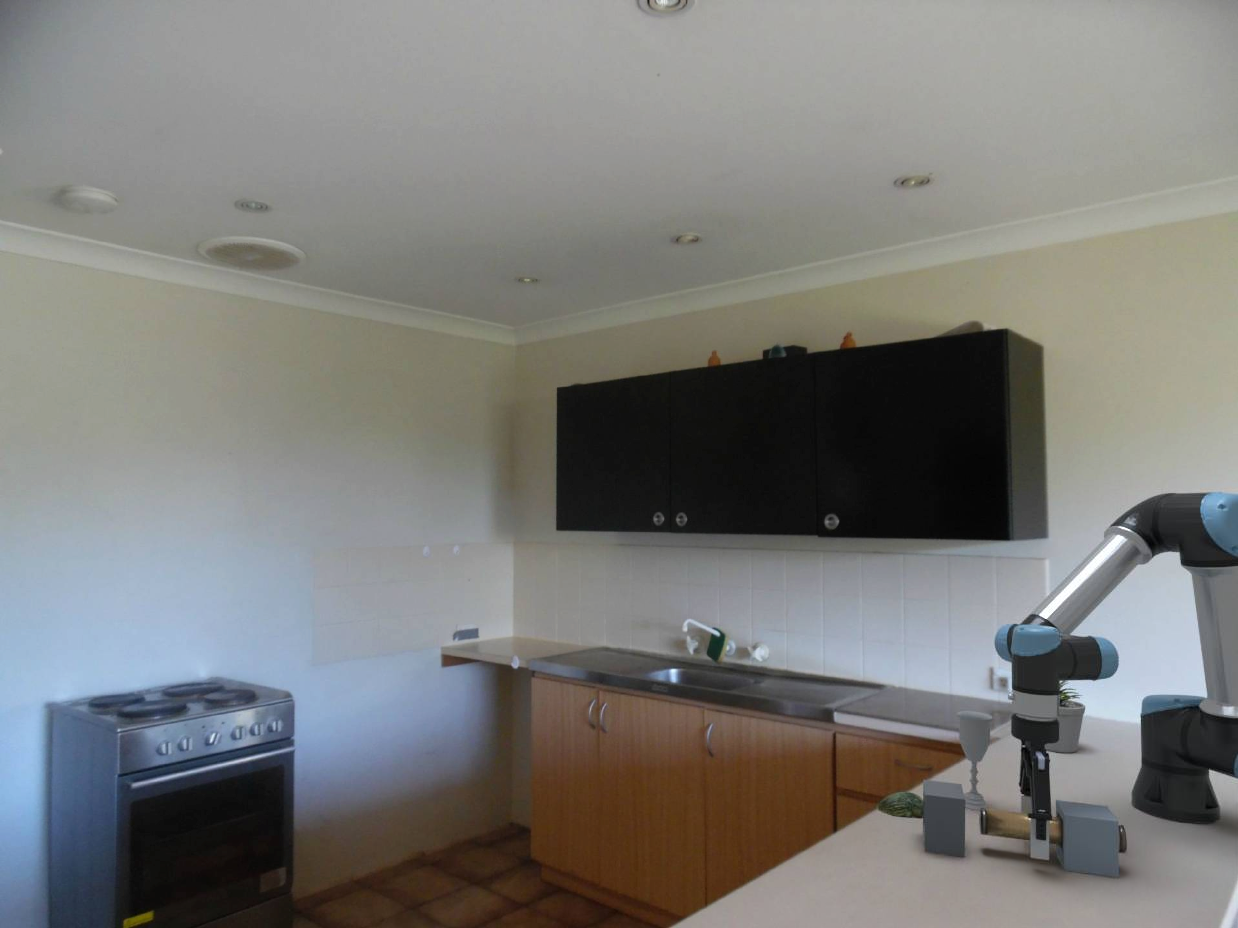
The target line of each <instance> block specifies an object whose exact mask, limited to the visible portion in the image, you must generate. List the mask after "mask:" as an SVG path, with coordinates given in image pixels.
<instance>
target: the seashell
mask: <svg viewBox="0 0 1238 928" xmlns="http://www.w3.org/2000/svg"><path fill="white" fill-rule="evenodd" d="M876 809H877V810H878V811H880V812H881V813H884V814H886V815H890V816H892V817H897V818H910V819H911V818H921V819H923V797H921V796H920V795H918V794H916V793H913V792H909V791H898V792H895V793H894V792H893V793H892V794H889V795H887V796H886V797H884V798H883V799H881V801H879V802H878V803H877V804H876Z"/></svg>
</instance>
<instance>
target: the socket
mask: <svg viewBox="0 0 1238 928" xmlns="http://www.w3.org/2000/svg"><path fill="white" fill-rule="evenodd" d="M922 785H923V786H922V787H923V789H922V791H923V793H922V799H923V818H922V839H923V849H924V853H931V854H932V853H933V854H939V855H945V856H952V857H953V856H954V857H961V858H966V807H965V796H964V795H965V793H964V789H963V786H962V783H956V782H946V781H936V780H928V779H923V784H922Z"/></svg>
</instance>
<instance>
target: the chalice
mask: <svg viewBox="0 0 1238 928" xmlns="http://www.w3.org/2000/svg"><path fill="white" fill-rule="evenodd" d="M956 714H957V715H956V716H957V718H958V722H959V723H958V728H959V730H958V739H959V742H960V746H961V749H962V750H963V752H964V755H965V758H966V759H967V760H968V761H970V762H971V769H970V770H969V772H970V774H971V778H970V779H969V780H968V781H969V782H970V784H971V788H970V790H969V791H967V792H965V793H964V796H965V809H966V808H967V809H971V810H976V811H980V808H988V806H987V804H986V800H985V799H984V796H983V794H981V793H979V792H978V790H977V785H978V783H979V780H978V778H977V776H978V773H979V771H978V769H977V768H978V767H977V764H978V763H979V762H982V760H983V758H984V757H985V755H986V753H987V752H988V749H989V745H990V743H991V722H992V721H993V716H992V715H990V714H987V713H984V712H979V711H971V710H962V711H961V710H960V711H957V712H956Z"/></svg>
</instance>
